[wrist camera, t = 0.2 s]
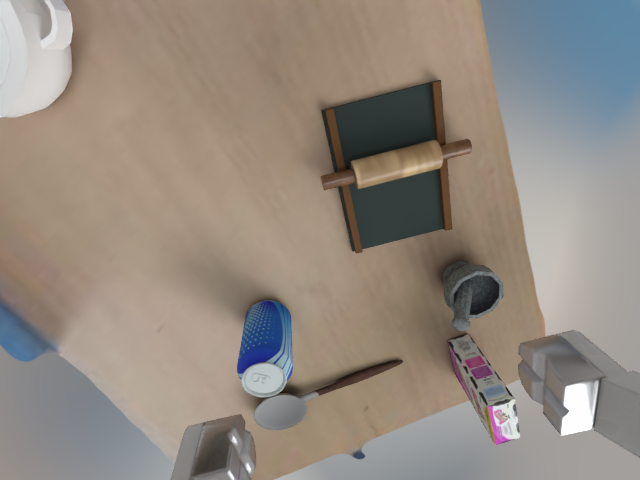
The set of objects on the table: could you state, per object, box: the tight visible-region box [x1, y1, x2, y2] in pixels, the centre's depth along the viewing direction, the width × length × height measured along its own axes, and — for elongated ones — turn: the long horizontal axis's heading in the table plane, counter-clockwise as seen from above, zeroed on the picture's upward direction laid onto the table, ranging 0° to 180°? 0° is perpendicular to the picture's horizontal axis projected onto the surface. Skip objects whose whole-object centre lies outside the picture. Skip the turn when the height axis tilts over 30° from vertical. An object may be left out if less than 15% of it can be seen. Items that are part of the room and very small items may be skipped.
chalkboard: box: [322, 80, 452, 253], centre depth 56 cm, size 24×18×2 cm
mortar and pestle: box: [443, 261, 503, 331], centre depth 61 cm, size 11×9×12 cm
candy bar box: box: [447, 334, 520, 445], centre depth 67 cm, size 11×5×16 cm, turn 20°
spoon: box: [254, 360, 403, 430], centre depth 73 cm, size 11×33×3 cm, turn 110°
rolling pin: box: [321, 139, 472, 190], centre depth 53 cm, size 4×23×4 cm, turn 103°
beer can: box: [237, 300, 293, 397], centre depth 58 cm, size 8×8×16 cm
